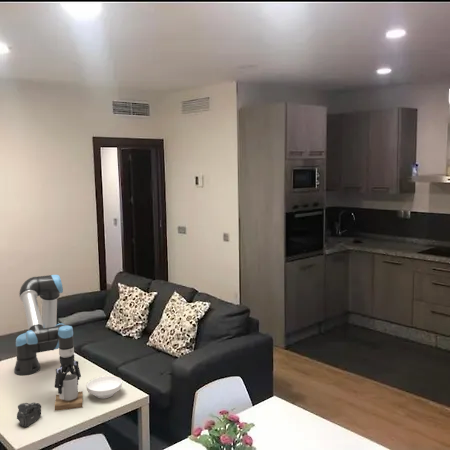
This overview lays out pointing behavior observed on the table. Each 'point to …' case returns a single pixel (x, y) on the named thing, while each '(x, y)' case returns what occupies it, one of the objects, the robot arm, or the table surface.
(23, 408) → the camera
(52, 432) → the table surface
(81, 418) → the table surface
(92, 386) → the bowl
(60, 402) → the trivet
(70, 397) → the mug
